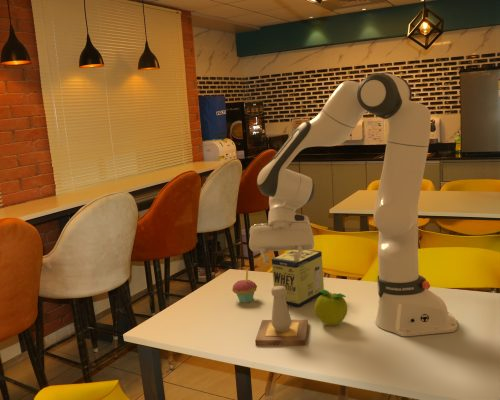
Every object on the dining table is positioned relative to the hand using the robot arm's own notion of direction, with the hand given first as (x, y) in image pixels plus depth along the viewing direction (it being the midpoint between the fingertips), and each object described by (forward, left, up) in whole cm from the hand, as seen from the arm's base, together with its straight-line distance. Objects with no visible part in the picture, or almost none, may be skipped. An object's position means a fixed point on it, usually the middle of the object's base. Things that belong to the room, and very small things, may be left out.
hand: (281, 261), depth 155 cm
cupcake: (+16, -19, -19) cm, 32 cm away
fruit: (-14, +2, -19) cm, 24 cm away
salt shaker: (0, +9, -18) cm, 20 cm away
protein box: (-3, -20, -20) cm, 28 cm away
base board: (0, +9, -19) cm, 21 cm away
